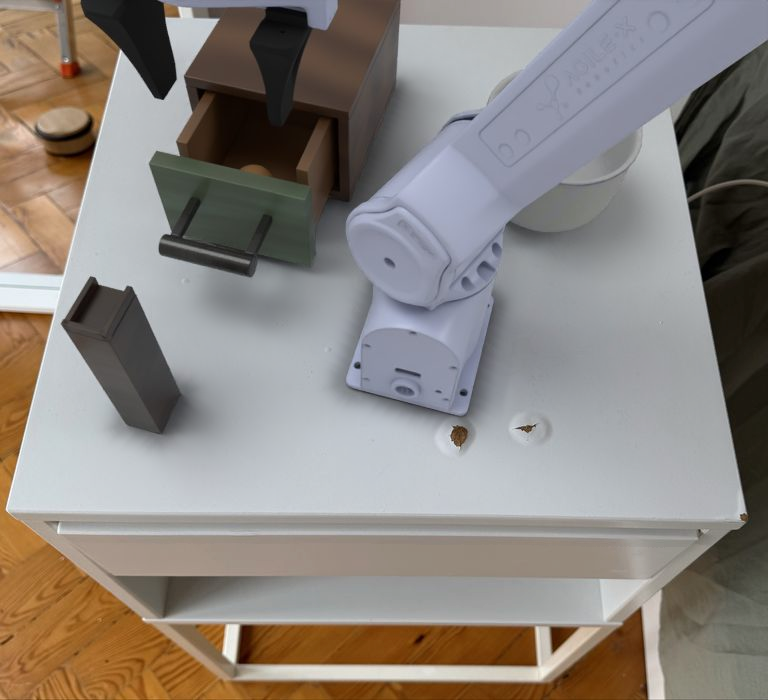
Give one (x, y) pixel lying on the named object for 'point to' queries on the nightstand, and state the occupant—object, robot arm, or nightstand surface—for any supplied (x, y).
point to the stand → (123, 354)
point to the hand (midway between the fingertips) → (223, 102)
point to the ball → (257, 170)
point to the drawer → (245, 184)
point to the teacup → (578, 186)
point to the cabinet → (315, 73)
